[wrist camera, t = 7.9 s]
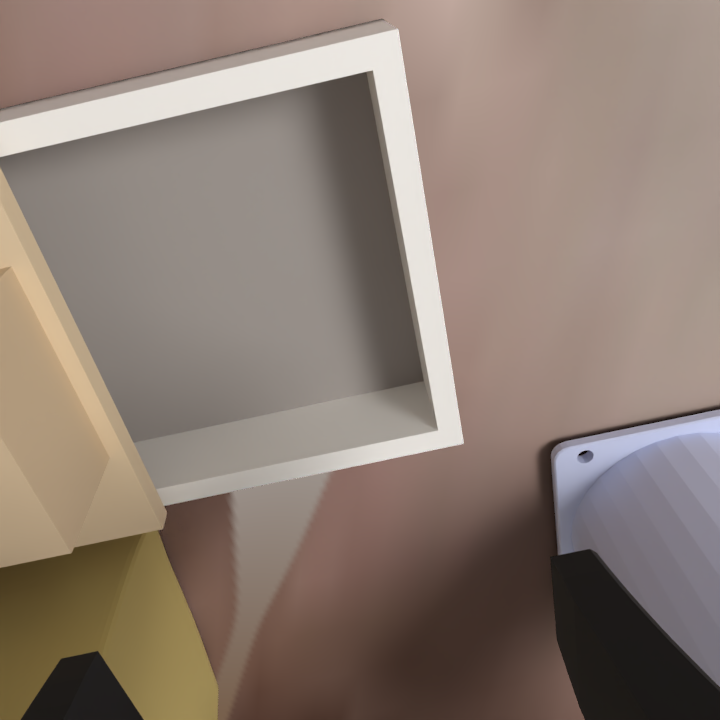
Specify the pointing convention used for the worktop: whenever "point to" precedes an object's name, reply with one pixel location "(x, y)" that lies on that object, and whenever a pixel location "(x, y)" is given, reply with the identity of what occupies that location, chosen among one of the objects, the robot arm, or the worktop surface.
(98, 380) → the lid
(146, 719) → the cheese
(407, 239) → the box
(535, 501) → the worktop surface
